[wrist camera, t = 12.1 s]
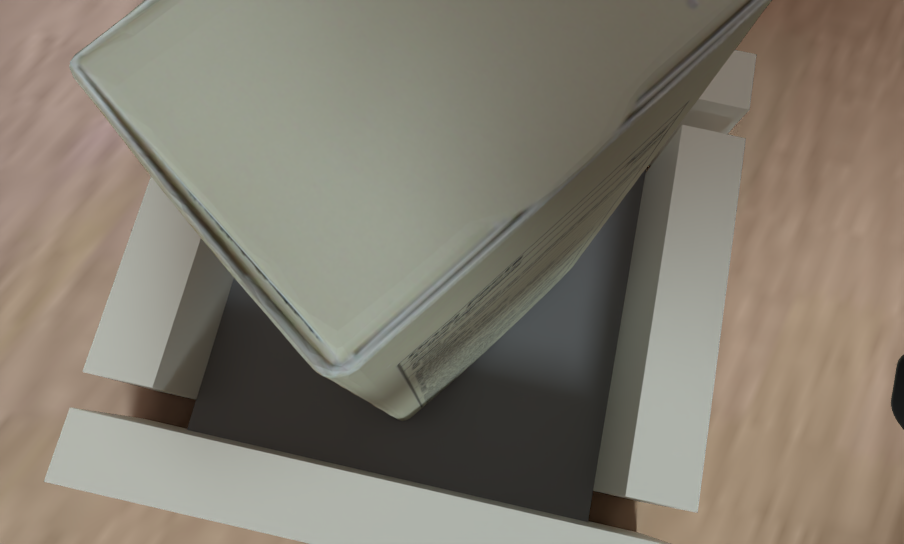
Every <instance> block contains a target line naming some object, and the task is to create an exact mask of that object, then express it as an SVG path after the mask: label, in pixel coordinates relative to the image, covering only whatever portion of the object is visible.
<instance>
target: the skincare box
mask: <svg viewBox="0 0 904 544" xmlns="http://www.w3.org/2000/svg"><path fill="white" fill-rule="evenodd" d="M771 1H772V0H144V1H143V2H142V3H141V4H140V5H138V6H137V7H136V8H135V9H134V10H132V11H131V12H130V13H129V14H128V15H126V16H125V17H124V18H123V19H121V20H120V21H119V22H117V23H116V24H115V25H113V26H112V27H111V28H110V29H108V30H107V31H106V32H104V33H103V34H102V35H100V36H99V37H98V38H96V39H95V40H94V41H93V42H91V43H90V44H89V45H87V46H86V47H85V48H83V49H82V50H81V51H79V52H78V53H77V54H75V55H74V57H73V58H72V60H71V61H70V70H71V72H72V75H73V77H74V79H75V80H76V81H77V83H78V84H79V85H80V86H81V88H82V89H83V90H84V91H85V93H86V94H87V95H88V96H89V98H90V99H91V100H92V101H93V102H94V104H95V105H96V106H97V107H98V109H99V110H100V111H101V112H102V114H103V115H104V116H105V117H106V119H107V120H108V121H109V123H110V124H111V125H112V127H113V128H114V129H115V130H116V132H117V133H118V134H119V136H120V137H121V138H122V139H123V141H124V142H125V143H126V145H127V146H128V147H129V149H130V150H131V151H132V153H133V154H134V155H135V156H136V158H137V159H138V160H139V162H140V163H141V164H142V166H143V167H144V168H145V169H146V171H147V172H148V173H149V174H150V176H151V177H152V178H153V179H154V181H155V182H156V183H157V184H158V186H159V187H160V188H161V189H162V191H163V192H164V193H165V194H166V196H167V197H168V198H169V199H170V201H171V202H172V203H173V204H174V206H175V207H176V208H177V209H178V210H179V212H180V213H181V214H182V215H183V217H184V218H185V219H186V220H187V222H188V223H189V224H190V225H191V226H192V228H193V229H194V230H195V231H196V232H197V234H198V235H199V236H200V237H201V239H202V240H203V241H204V242H205V243H206V245H207V246H208V247H209V248H210V249H211V251H212V252H213V253H214V254H215V256H216V257H217V258H218V259H219V260H220V262H221V263H222V264H223V265H224V266H225V268H226V269H227V270H228V271H229V272H230V274H231V275H232V276H233V277H234V278H235V279H236V280H237V282H238V283H239V284H240V285H241V286H242V287H243V289H244V290H245V291H246V292H247V293H248V294H249V295H250V297H251V298H252V299H253V300H254V301H255V302H256V304H257V305H258V306H259V307H260V308H261V309H262V310H263V312H264V313H265V314H266V315H267V316H268V317H269V319H270V320H271V321H272V322H273V323H274V324H275V326H276V327H277V328H278V329H279V330H280V331H281V333H282V334H283V335H284V336H285V337H286V338H287V340H288V341H289V342H290V343H291V344H292V346H293V347H294V348H295V349H296V350H297V351H298V353H299V354H300V355H301V356H302V357H303V358H304V359H305V361H306V362H307V363H308V364H309V365H310V366H311V367H312V368H313V370H314V371H316V372H317V373H319V374H320V375H322V376H324V377H326V378H328V379H330V380H332V381H333V382H335V383H337V384H338V385H340V386H341V387H343V388H345V389H347V390H349V391H350V392H352V393H353V394H355V395H357V396H359V397H360V398H362V399H364V400H366V401H368V402H369V403H371V404H372V405H374V406H375V407H377V408H379V409H381V410H383V411H384V412H386V413H387V414H389V415H391V416H393V417H394V418H396V419H398V420H400V421H405V420H408V419H410V418H411V417H412V416H414V415H415V414H416V413H417V412H418V411H419V410H421V409H422V408H423V407H424V406H425V405H426V404H427V403H429V402H430V401H431V400H432V399H433V398H434V397H436V396H437V395H438V394H439V393H440V392H441V391H442V390H444V389H445V388H446V387H447V386H448V385H449V384H450V383H451V382H453V381H454V380H455V379H456V378H457V377H458V376H459V375H460V374H461V373H463V372H464V371H465V370H466V369H467V368H468V367H469V366H470V365H471V364H472V363H474V362H475V361H476V360H477V359H478V358H479V357H480V356H481V355H482V354H483V353H485V352H486V351H487V350H488V349H489V348H490V347H491V346H492V345H493V344H494V343H495V342H496V341H497V340H498V339H500V338H501V337H502V336H503V335H504V334H505V333H506V332H507V331H508V330H509V329H510V328H511V327H512V326H513V325H514V324H515V323H516V322H518V321H519V320H520V319H521V318H522V317H523V316H524V315H525V314H526V313H527V312H528V311H529V310H530V309H531V308H532V307H533V306H534V305H535V304H536V303H537V302H538V301H539V300H540V299H541V298H543V297H544V296H545V295H546V294H547V293H548V292H549V291H550V290H551V289H552V288H553V287H554V286H555V285H556V284H557V283H558V282H559V281H560V280H561V279H562V277H563V276H564V275H565V274H566V273H567V272H568V271H569V270H570V269H571V268H572V267H573V266H574V265H575V263H576V262H577V260H578V259H579V258H580V256H581V255H582V253H583V252H584V251H585V250H586V248H587V247H588V246H589V244H590V243H591V242H592V240H593V239H594V237H595V236H596V235H597V233H598V232H599V231H600V229H601V228H602V227H603V225H604V224H605V222H606V221H607V220H608V218H609V217H610V216H611V215H612V213H613V212H614V211H615V209H616V208H617V207H618V205H619V204H620V203H621V201H622V200H623V198H624V197H625V196H626V194H627V193H628V192H629V190H630V189H631V188H632V186H633V185H634V184H635V182H636V181H637V180H638V178H639V177H640V176H641V174H642V173H643V172H644V170H645V169H646V168H647V166H648V165H649V164H650V163H651V161H652V160H653V159H654V157H655V156H656V155H657V153H658V152H659V151H660V149H661V148H662V147H663V146H664V144H665V143H666V141H667V140H668V139H669V137H670V136H671V135H672V133H673V132H674V131H675V129H676V128H677V127H678V125H679V124H680V123H681V121H682V120H683V119H684V117H685V116H686V115H687V113H688V112H689V111H690V110H691V108H692V107H693V106H694V104H695V103H696V102H697V100H698V99H699V98H700V96H701V95H702V94H703V92H704V91H705V90H706V88H707V87H708V85H709V84H710V83H711V81H712V80H713V79H714V77H715V76H716V75H717V73H718V72H719V71H720V69H721V68H722V67H723V65H724V64H725V63H726V61H727V60H728V59H729V57H730V56H731V55H732V53H733V52H734V50H735V49H736V48H737V46H738V45H739V44H740V42H741V41H742V40H743V38H744V37H745V36H746V34H747V33H748V31H749V30H750V29H751V27H752V26H753V25H754V23H755V22H756V20H757V19H758V18H759V16H760V15H761V14H762V12H763V11H764V10H765V8H766V7H767V6H768V5H769V4H770V2H771Z"/></svg>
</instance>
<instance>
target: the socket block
mask: <svg viewBox="0 0 904 544" xmlns="http://www.w3.org/2000/svg"><path fill="white" fill-rule="evenodd" d="M756 56H757V54H752V53H747V52H743V51H738V50H734V52H733V53H732V55H731V56H730V57H729V59H728V60H727V61H726V63H725V64H724V65H723V67H722V68H721V69H720V71H719V72H718V73H717V75H716V76H715V77H714V79H713V80H712V81H711V83H710V84H709V85H708V87H707V88H706V90H705V91H704V92H703V94H702V95H701V96H700V98H699V99H698V100H697V102H696V103H695V104H694V106H693V107H692V108H691V110H690V111H689V112H688V113H687V115H686V116H685V117H684V119H683V120H682V121H681V123H680V124H679V125H678V127H677V128H676V129H675V131H674V132H673V133H672V135H671V136H670V137H669V139H668V140H667V141H666V143H665V144H664V146H663V147H662V148H661V149H660V151H659V152H658V153H657V155H656V156H655V157H654V159H653V160H652V161H651V163H650V164H649V165H651V167H650V168H649V169H648V171H647V172H646V169H645V170H644V172H643V173H642V174H641V176H640V177H639V178H638V180H637V181H636V182H635V184H634V185H633V186H632V188H631V189H630V190H629V192H628V193H627V194H626V196H625V197H624V198H623V200H622V201H621V203H620V204H619V205H618V207H617V208H616V209H615V211H614V212H613V213H612V215H611V216H610V217H609V218H608V220H607V221H606V222H605V224H604V225H603V227H602V228H601V229H600V231H599V232H598V233H597V235H596V236H595V237H594V239H593V240H592V242H591V243H590V244H589V246H588V247H587V248H586V250H585V251H584V252H583V253H582V255H581V256H580V258H579V259H578V260H577V262H576V263H575V265H574V266H573V267H572V268H571V269H570V270H569V271H568V272H567V273H566V274H565V275H564V276H563V277H562V279H561V280H560V281H559V282H558V283H557V284H556V285H555V286H554V287H553V288H552V289H551V290H550V291H549V292H548V293H547V294H546V295H545V296H544V297H543V298H541V299H540V300H539V301H538V302H537V303H536V304H535V305H534V306H533V307H532V308H531V309H530V310H529V311H528V312H527V313H526V314H525V315H524V316H523V317H522V318H521V319H520V320H519V321H518V322H516V323H515V324H514V325H513V326H512V327H511V328H510V329H509V330H508V331H507V332H506V333H505V334H504V335H503V336H502V337H501V338H500V339H498V340H497V341H496V342H495V343H494V344H493V345H492V346H491V347H490V348H489V349H488V350H487V351H486V352H485V353H483V354H482V355H481V356H480V357H479V358H478V359H477V360H476V361H475V362H474V363H472V364H471V365H470V366H469V367H468V368H467V369H466V370H465V371H464V372H463V373H461V374H460V375H459V376H458V377H457V378H456V379H455V380H454V381H453V382H451V383H450V384H449V385H448V386H447V387H446V388H445V389H444V390H442V391H441V392H440V393H439V394H438V395H437V396H436V397H434V398H433V399H432V400H431V401H430V402H429V403H427V404H426V405H425V406H424V407H423V408H422V409H421V410H419V411H418V412H417V413H416V414H415V415H414V416H412V417H411V418H410V419H408V420H405V421H400V420H398V419H396V418H394V417H393V416H391V415H389V414H387V413H386V412H384V411H383V410H381V409H379V408H377V407H375V406H374V405H372V404H371V403H369V402H368V401H366V400H364V399H362V398H360V397H359V396H357V395H355V394H353V393H352V392H350V391H349V390H347V389H345V388H343V387H341V386H340V385H338V384H337V383H335V382H333V381H332V380H330V379H328V378H326V377H324V376H322V375H320V374H319V373H317V372H316V371H314V370H313V368H312V367H311V366H310V365H309V364H308V363H307V362H306V361H305V359H304V358H303V357H302V356H301V355H300V354H299V353H298V351H297V350H296V349H295V348H294V347H293V346H292V344H291V343H290V342H289V341H288V340H287V338H286V337H285V336H284V335H283V334H282V333H281V331H280V330H279V329H278V328H277V327H276V326H275V324H274V323H273V322H272V321H271V320H270V319H269V317H268V316H267V315H266V314H265V313H264V312H263V310H262V309H261V308H260V307H259V306H258V305H257V304H256V302H255V301H254V300H253V299H252V298H251V297H250V295H249V294H248V293H247V292H246V291H245V290H244V289H243V287H242V286H241V285H240V284H239V283H238V282H237V280H236V279H235V278H234V277H233V276H232V275H231V274H230V272H229V271H228V270H227V269H226V268H225V266H224V265H223V264H222V263H221V262H220V260H219V259H218V258H217V257H216V256H215V254H214V253H213V252H212V251H211V249H210V248H209V247H208V246H207V245H206V243H205V242H204V241H203V240H202V239H201V237H200V236H199V235H198V234H197V232H196V231H195V230H194V229H193V228H192V226H191V225H190V224H189V223H188V222H187V220H186V219H185V218H184V217H183V215H182V214H181V213H180V212H179V210H178V209H177V208H176V207H175V206H174V204H173V203H172V202H171V201H170V199H169V198H168V197H167V196H166V194H165V193H164V192H163V191H162V189H161V188H160V187H159V186H158V184H157V183H156V182H155V181H154V179H153V178H152V177H151V178H150V181H149V184H148V187H147V189H146V192H145V195H144V198H143V201H142V204H141V207H140V209H139V212H138V215H137V218H136V221H135V224H134V226H133V229H132V232H131V235H130V238H129V241H128V244H127V246H126V249H125V252H124V255H123V258H122V261H121V264H120V266H119V269H118V272H117V275H116V278H115V281H114V283H113V286H112V289H111V292H110V295H109V298H108V301H107V303H106V306H105V309H104V312H103V315H102V318H101V321H100V323H99V326H98V329H97V332H96V335H95V338H94V340H93V343H92V346H91V349H90V352H89V355H88V358H87V360H86V363H85V366H84V369H83V372H85V373H89V374H93V375H97V376H101V377H105V378H109V379H112V380H116V381H120V382H124V383H128V384H132V385H136V386H139V387H143V388H147V389H151V390H155V391H159V392H164V393H168V394H173V395H177V396H181V397H186V398H190V399H194V400H196V402H195V405H194V409H193V412H192V415H191V418H190V422H189V425H188V428H182V427H178V426H174V425H169V424H165V423H161V422H156V421H152V420H148V419H143V418H137V417H130V416H123V415H117V414H110V413H103V412H97V411H90V410H84V409H77V408H70V409H69V412H68V415H67V417H66V420H65V423H64V426H63V429H62V432H61V435H60V437H59V440H58V443H57V446H56V449H55V452H54V454H53V457H52V460H51V463H50V466H49V469H48V472H47V474H46V477H45V480H44V482H48V483H52V484H56V485H60V486H65V487H69V488H73V489H78V490H82V491H86V492H90V493H95V494H99V495H103V496H108V497H112V498H116V499H121V500H125V501H129V502H133V503H138V504H142V505H146V506H151V507H155V508H159V509H163V510H168V511H172V512H176V513H181V514H185V515H189V516H194V517H198V518H202V519H206V520H211V521H215V522H219V523H224V524H228V525H232V526H236V527H241V528H245V529H249V530H254V531H258V532H262V533H267V534H271V535H275V536H279V537H284V538H288V539H292V540H297V541H301V542H305V543H309V544H671V543H668V542H665V541H662V540H659V539H656V538H653V537H650V536H647V535H644V534H641V533H638V532H634V531H630V530H626V529H621V528H617V527H612V526H608V525H604V524H599V523H595V522H591V521H588V518H589V512H590V506H591V500H592V494H593V491H596V492H600V493H605V494H609V495H613V496H618V497H622V498H626V499H631V500H635V501H639V502H644V503H649V504H655V505H660V506H665V507H670V508H676V509H681V510H686V511H691V512H697V513H698V505H699V498H700V490H701V482H702V474H703V467H704V459H705V451H706V443H707V436H708V428H709V420H710V412H711V405H712V397H713V389H714V381H715V374H716V366H717V358H718V350H719V343H720V335H721V327H722V319H723V312H724V304H725V296H726V288H727V280H728V273H729V265H730V257H731V249H732V242H733V234H734V226H735V218H736V211H737V203H738V195H739V187H740V180H741V172H742V164H743V156H744V149H745V141H746V138H742V137H737V136H733V135H728V133H729V132H730V130H731V129H732V128H733V127H734V126H735V125H736V124H737V123H738V122H739V121H740V120H741V119H742V117H743V116H744V115H745V114H746V113H747V112H748V111H749V110H750V102H751V94H752V87H753V79H754V71H755V63H756Z"/></svg>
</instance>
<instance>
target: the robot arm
mask: <svg viewBox="0 0 904 544" xmlns="http://www.w3.org/2000/svg"><path fill="white" fill-rule="evenodd" d="M891 407H892V411H893V414H894V416H895V418H896V420H897V421H898V423H899V424H900V426H901V427H902V428H903V429H904V355H903V356H901V358H900V359H899V360H898V363H897V368H896V374H895V380H894V386H893V392H892V398H891Z"/></svg>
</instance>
